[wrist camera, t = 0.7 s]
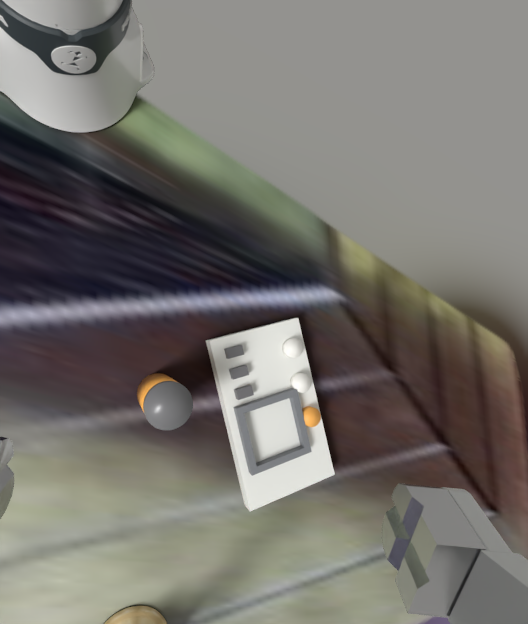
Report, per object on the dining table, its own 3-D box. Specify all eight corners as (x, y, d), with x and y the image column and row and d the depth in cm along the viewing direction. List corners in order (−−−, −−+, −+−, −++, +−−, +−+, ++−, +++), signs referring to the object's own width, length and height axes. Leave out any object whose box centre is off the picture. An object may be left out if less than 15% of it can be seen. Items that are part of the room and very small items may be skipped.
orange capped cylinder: (132, 379, 46) (138, 389, 37) (171, 368, 48) (186, 375, 38) (142, 417, 46) (150, 437, 37) (180, 405, 48) (197, 421, 39)
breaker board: (205, 340, 49) (211, 340, 46) (291, 318, 54) (302, 317, 51) (244, 504, 50) (253, 515, 47) (327, 469, 54) (339, 477, 51)
